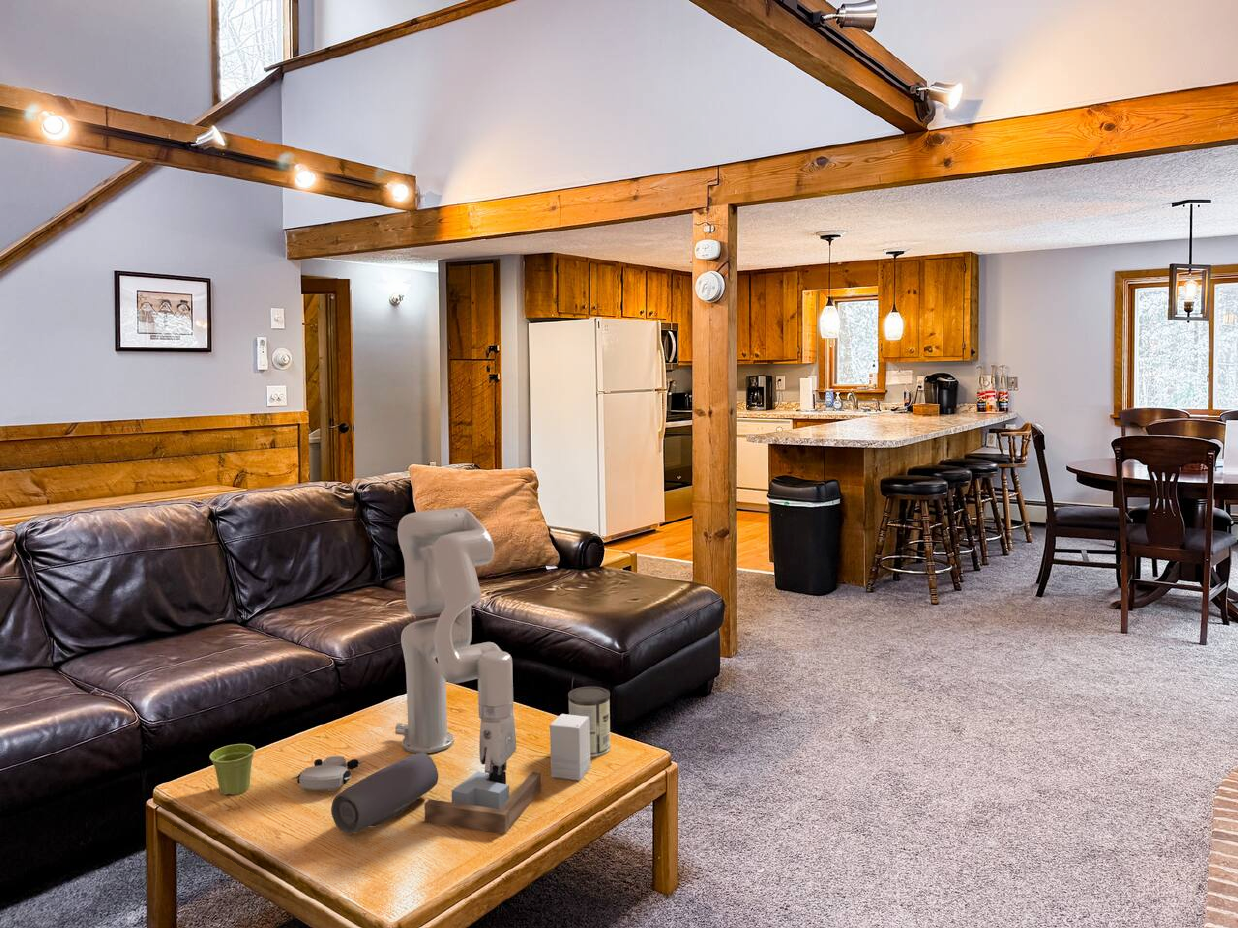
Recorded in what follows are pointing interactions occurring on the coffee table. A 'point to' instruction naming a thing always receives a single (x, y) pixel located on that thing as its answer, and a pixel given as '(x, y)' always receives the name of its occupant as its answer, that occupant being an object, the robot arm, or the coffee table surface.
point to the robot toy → (327, 773)
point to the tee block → (481, 792)
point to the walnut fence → (485, 810)
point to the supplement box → (570, 747)
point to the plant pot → (233, 767)
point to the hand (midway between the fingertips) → (497, 789)
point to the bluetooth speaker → (384, 793)
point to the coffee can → (593, 715)
